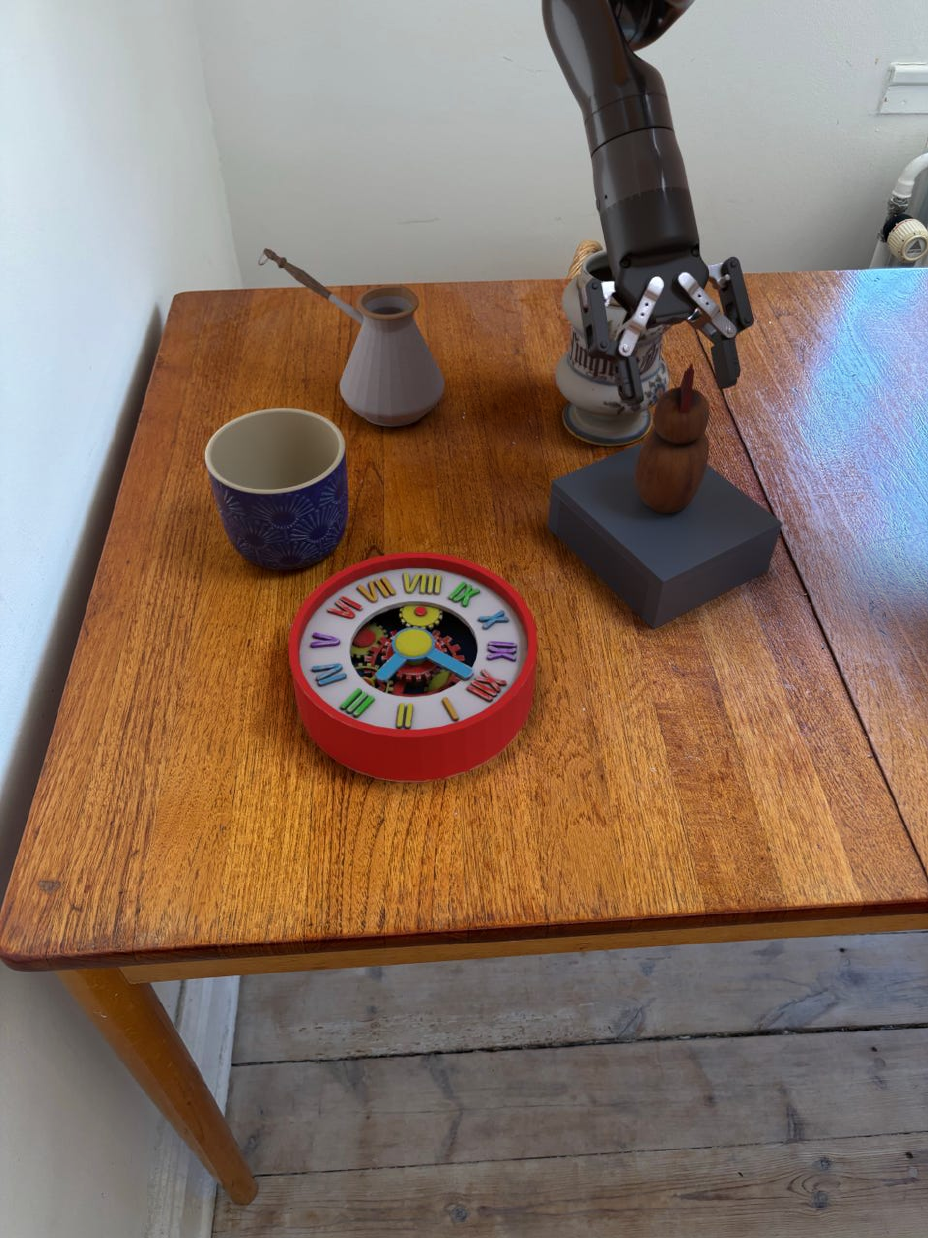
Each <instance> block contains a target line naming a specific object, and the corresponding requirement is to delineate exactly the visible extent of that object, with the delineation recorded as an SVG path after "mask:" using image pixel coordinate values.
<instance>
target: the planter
mask: <svg viewBox="0 0 928 1238" xmlns="http://www.w3.org/2000/svg"><path fill="white" fill-rule="evenodd" d="M346 450H347V449H346V441H345V437H344V435H343V433H342V431H341V430H340V429H339V427H338V426H337V425H336V424H335V423H334V422H332V420H330V419H328V418H326V417H325V416H323V415H321V414H318V413H316V412H313V411H309V410H306V409H299V408H290V407H277V408H268V409H267V408H265V409H261V410H256V411H253V412H249V413H246V414H244V415H240V416H239V417H236V418H234V419H232V420H230V421H228V422H227V423H226V424H224V425H223V426H221V427H220V428H219V429H218V430H216V432H214V434H213V435H212V436H211V438H210V439H209V440H208V443H207V445H206V447H205V450H204V451H205V452H204V462H205V466H206V469H207V474H208V477H209V481H210V485H211V488H212V492H213V496H214V500H215V502H216V507H217V510H218V513H219V516H220V519H221V522H222V525H223V528H224V531H225V533H226V535H227V538H228V540H229V542H230V543H231V545H232V546H233V548H234V549H235V551H236V552H237V553H238V554H239V555H240V556H241V557H242V558H243V559H245V560H246V561H248V562H250V563H252V564H254V565H255V566H258V567H261V568H265V569H269V570H279V571H288V570H297V569H302V568H306V567H309V566H311V565H313V564H316V563H318V562H320V561H322V560H323V559H325V558H326V557H328V556H329V555H331V553H333V552H334V551H335V550H336V548H338V546H339V545H340V544H341V542H342V540H343V538H344V536H345V533H346V529H347V524H348V519H349V516H348V515H349V485H348V484H349V483H348V467H347V452H346Z"/></svg>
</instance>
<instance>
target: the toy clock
mask: <svg viewBox="0 0 928 1238" xmlns="http://www.w3.org/2000/svg"><path fill="white" fill-rule="evenodd" d="M537 631H538V630H537V627H536V623H535V620H534V617H533V613H532V611H531V610H530V608H529V607H528V604H527V603H526V601H525V599H524V598H523V597H522V595H520V593H519V592H518V591H517V590H516V588H514V587H513V586H512V585H511V584H510V583H509V582H507V581H506V579H504V578H502V577H501V576H500V575H499V574H497V573H495V572H494V571H492V570H490V569H489V568H487V567H485V566H483V565H481V564H478V563H475V562H473V561H470V560H468V559H465V558H461V557H457V556H453V555H449V554H445V553H437V552H430V551H429V552H426V551H422V552H421V551H407V552H406V551H405V552H398V553H397V552H396V553H389V554H383V555H380V556H375V557H372V558H368V559H365V560H362V561H360V562H357V563H354V564H352V565H349V566H347V567H346V568H344V569H342V570H340V571H338V572H336V573H334V574H333V575H331V576H330V577H329V578H327V579H326V580H324V581H323V582H322V583H320V584H319V585H318V586H317V587H316V588H314V590H313V591H312V592H311V593H310V594H309V595H308V596H307V597H306V598H305V600H304V601H303V603H302V605H301V606H300V608H299V610H297V612H296V614H295V617H294V619H293V622H292V623H291V627H290V631H289V637H288V642H287V643H288V644H287V646H288V659H289V668H290V671H291V679H292V683H293V690H294V695H295V701H296V706H297V711H298V712H299V715H300V718H301V722H302V724H303V726H304V728H305V729H306V731H307V732H308V735H309V736H310V738H311V740H312V741H314V743H315V744H316V745H317V746H318V747H319V748H320V749H321V750H322V751H323V752H324V753H325V754H326V755H328V756H329V757H330V758H332V759H333V760H335V762H337V763H338V764H340V765H342V766H344V767H346V768H348V769H349V770H352V771H354V772H356V773H358V774H361V775H365V776H368V777H370V778H373V779H377V780H384V781H389V782H396V783H428V782H435V781H440V780H446V779H450V778H453V777H456V776H460V775H463V774H466V773H468V772H470V771H473V770H475V769H477V768H479V767H481V766H483V765H485V764H486V763H488V762H489V761H491V760H492V759H493V758H495V757H496V756H498V755H499V754H501V753H502V752H503V751H504V750H505V749H506V748H507V747H508V746H509V745H510V744H512V742H513V741H514V740H515V739H516V737H517V736H518V734H519V733H520V732H521V730H522V728H523V727H524V726H525V724H526V721H527V719H528V716H529V714H530V711H531V710H532V706H533V705H532V704H533V700H534V692H535V683H536V681H535V680H536V668H537V658H538V657H537V656H538V633H537Z"/></svg>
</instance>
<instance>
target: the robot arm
mask: <svg viewBox="0 0 928 1238" xmlns="http://www.w3.org/2000/svg"><path fill="white" fill-rule="evenodd" d="M540 1H541V4H540V5H541V9H540V10H541V18H542V23H543V28H544V29H543V30H544V32H545V35H546V38H547V41H548V43H549V46H550V48H551V51H552V53H553V55H554V57H555V59H556V60H555V61H556V62H557V64H558V67H559V68H560V70H561V73H562V74H563V77H564V79H565V81H566V83H567V86H568V87H569V90H570V92H571V94H572V96H573V98H574V99H575V101H576V103H577V104H578V106H579V108H580V111H581V114H582V121H583V126H584V131H585V136H586V141H587V146H588V151H589V156H590V161H591V167H592V168H591V169H592V183H593V191H594V195H595V207H596V210H597V212H598V215H599V220H600V221H599V222H600V225H601V226H600V227H601V230H602V234H603V235H602V236H603V240H604V245H605V250H607V255H608V260H609V265H610V268H611V270H612V274H613V275H612V281H607V282H601V281H600V280H599V279H597V278H593V279H591V280H590V281H589V282H588V283H586V284H585V285H584V286H583V287H582V288H581V289H580V290H579V293H578V296H579V303H580V309H581V316H582V323H583V330H584V336H585V343H586V350H587V355H588V356H589V357H590V358H591V359H597V358H600V359H605V360H608V361H609V362H610V363H611V364H612V366H613V370H614V375H615V380H616V385H617V390H618V394H619V396H620V398H621V400H626V403H627V405H628V406H634V405H638V404H640V403H642V402H643V401H644V394H643V389H642V384H641V379H640V374H639V369H638V364H637V359H636V356H633V357H632V355H631V353H632V351H633V349H634V347H635V345H636V342H637V340H638V338H639V336H640V334H641V332H642V331H643V330H644V328H645V327H646V329H652V328H656V327H658V326H660V325H662V324H667V325H673V326H675V325H679V324H682V323H683V322H686V323H687V324H688V325H689V326H690V327H691V328H692V329H694V330H698V331H699V332H700V333H701V334H703V336H705V338H706V339H707V340H708V341H710V343H712V346H711V347H709V350H710V354H711V359H712V365H713V369H714V374H715V379H716V385H717V389H719V390H725V389H729V388H732V387H734V386H736V385H737V384H738V378H740V376H741V372H742V370H741V365H740V360H739V355H738V350H737V344H736V338H737V336H738V335H739V334H740V333H742V332H744V331H745V330H747V329H748V328H750V327H752V326H753V325H754V323H755V317H754V313H753V309H752V305H751V301H750V298H749V297H750V296H749V293H748V289H747V285H746V281H745V278H744V273H743V270H742V266H741V262H740V260H739V258H738V257H736V256H730V257H728V258H727V259H725V260H724V261H722V262H717V263H714V264H710V265H707V264H706V263H705V261H704V260H703V257H702V255H701V249H700V247H701V246H700V245H701V244H700V241H701V240H700V234H699V230H698V225H697V221H696V215H695V209H694V205H693V199H692V195H691V190H690V185H689V180H688V175H687V170H686V166H685V161H684V157H683V154H682V152H681V149H680V148H681V147H680V146H679V143H678V140H677V137H676V131H675V127H674V122H673V121H674V120H673V116H672V111H671V106H670V105H671V104H670V102H669V96H668V92H667V87H666V83H665V81H664V78H663V76H662V73H661V72H660V71H659V70H658V69H657V67H655V66H654V65H652V64H651V63H649V62H648V61H646V60H644V59H643V58H641V57H639V56H638V54H636V52H639V51H641V50H644V49H645V48H647V47H649V46H651V45H652V44H654V43H656V42H657V41H658V40H659V39H661V37H663V36H664V35H665V34H666V33H667V32H668V31H669V29H670V28H671V27H672V26H674V25H675V23H676V22H677V21H678V20H679V19H680V18H681V17H682V16H683V15H685V13H686V12H687V11H688V10H689V9H690V7H691V6H692V5H693V4H694V3H695V1H696V0H540ZM708 282H710V284H711V288H712V289H714V290H715V291H717V294H718V297H719V301H720V305H721V307H720V305H719V304H718V303H717V302H716V301H715V300H714V299H713V298H712V297H711V296H710V295H709V294H708V293H707V292H706V291H705V289H706V288H707V285H708ZM611 295H612V297H613V298H614V300H615V301H616V302H617V303H618V304H619V305H620V306H621V307H622V308H623V309H624V310H625V311H626V312H625V314H624V317H623V319H622V321H621V323H620V326H619V328H618V330H617V333H616V338H615V340H614V341H611V340H610V335H609V328H608V321H607V315H606V308H605V307H607V306H608V305H609V303H610V296H611ZM721 308H722V309H721ZM721 310H722V311H721Z"/></svg>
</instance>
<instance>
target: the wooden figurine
mask: <svg viewBox="0 0 928 1238" xmlns="http://www.w3.org/2000/svg"><path fill="white" fill-rule="evenodd" d="M694 377H695V368H694V363H690V364H689V367H687V368H686V370H685V371H684V373H683V376H682V380H681V383H680V386H677V387H672V388H670V389H667V391H666V392H665V393H664V394H663V395H662V396H660V398H659V400H658V402H657V404H655V408H654V412H653V416H652V424H653V428H652V429H651V430H650V431H649V432H648V433H647V434H646V437H645V439H644V441H643V442H644V443H643V445H642V447H641V449H640V453H639V457H638V460H637V464H636V469H635V484H636V488H637V492H638V494H639V496H640V498H641V500H642V501H643V503H644V504H645V505H646V506H648V507H650V508H651V509H653V510H655V511H657V512H659V513H672V512H677V511H680V510H681V509H683V508H685V507H686V506H687V505H688V504H689V503H690V502H691V501H692V499H693V498H694V496H695V494H696V492H697V490H698V488H699V486H700V484H701V482H702V480H703V477H704V474H705V471H706V467H707V464H708V460H709V453H710V452H709V451H710V442H709V437H708V436H707V435H706V433H705V432H706V431H707V427H708V423H709V419H710V414H711V412H710V411H711V410H710V404H709V401H708V399H707V397H706V396H705V395H704V393H702V392H701V391H699V390H697V389H695V388H693V387H694Z"/></svg>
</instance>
